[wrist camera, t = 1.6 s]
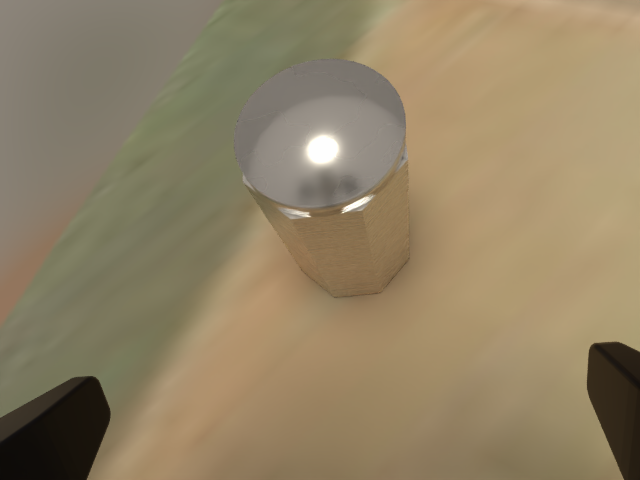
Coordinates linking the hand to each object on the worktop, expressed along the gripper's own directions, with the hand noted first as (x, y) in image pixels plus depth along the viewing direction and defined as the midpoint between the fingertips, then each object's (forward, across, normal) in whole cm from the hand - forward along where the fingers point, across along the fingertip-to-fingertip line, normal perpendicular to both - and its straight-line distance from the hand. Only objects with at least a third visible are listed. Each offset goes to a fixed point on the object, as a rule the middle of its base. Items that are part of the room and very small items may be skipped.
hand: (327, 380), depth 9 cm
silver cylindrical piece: (+15, 0, +4) cm, 16 cm away
